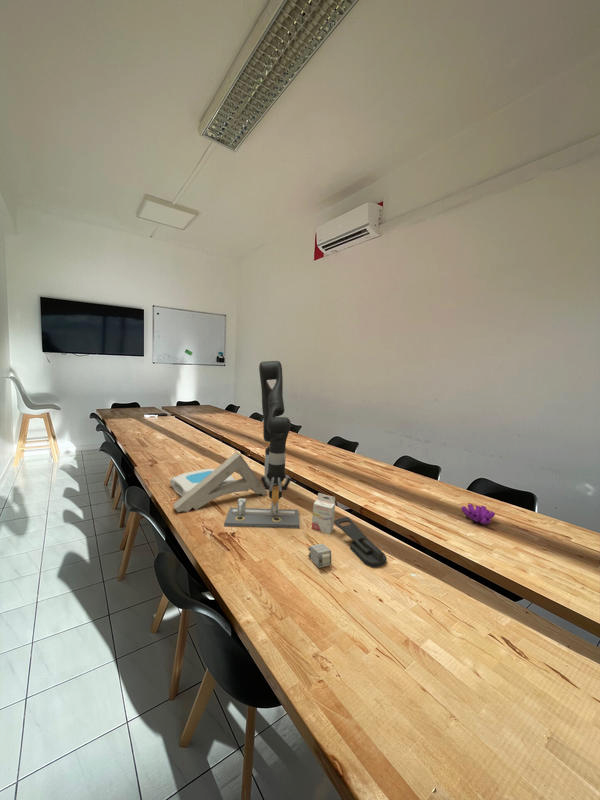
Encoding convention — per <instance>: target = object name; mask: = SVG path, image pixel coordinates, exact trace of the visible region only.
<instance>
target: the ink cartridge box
mask: <svg viewBox="0 0 600 800" xmlns="http://www.w3.org/2000/svg"><path fill="white" fill-rule="evenodd" d="M335 511H336V497H335V496H331V495H328V494H326V493H325V494H324V493H320V492H318V493H317V499H316V500H315V501H314V502H313V507H312V519H311V520H312V521H311V529H312V530H315V531H319V532H322V533H325V534H327V535H328V534H329V535H330V534H331V533H332V532H333V530H334V526H335V525H334V524H335V523H334V521H335V515H336V514H335Z"/></svg>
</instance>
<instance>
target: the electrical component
mask: <svg viewBox="0 0 600 800" xmlns="http://www.w3.org/2000/svg"><path fill="white" fill-rule="evenodd" d="M303 534H305V535H306V536H307V538H308V539H309V540H310V541H311V543H312V545H310V547H307V550H308V551H309V553H308V558H310V561H311V562H312V563H313V565H315V566H316V567H317V568H324V567H327V566H332V550H331V549H330V548H329V547H328V546H326V545H325V544H324V543H318V541H317V540H315V539H314V538H313V537H312V536H310V535H309V534H307V532H305V531H303ZM313 543H314V544H313Z"/></svg>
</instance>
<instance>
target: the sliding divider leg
mask: <svg viewBox="0 0 600 800" xmlns="http://www.w3.org/2000/svg"><path fill="white" fill-rule="evenodd" d="M279 502H280V499H279V486H273V487H272V499H271V504H270V505H271V506H270V509H271V513H273V519H275V514H276V513H278V509H279Z"/></svg>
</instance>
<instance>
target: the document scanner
mask: <svg viewBox="0 0 600 800" xmlns="http://www.w3.org/2000/svg"><path fill="white" fill-rule="evenodd" d="M215 469H216V468H203V469H198V470H192V471H189V472H184V473H181V474H179V475H176V476H174V477H172V478H170V480H169V481H170V482H169V483H170V484H169V485H170V486H171V487H172V488H173V490H174V492H175V493H177V494H178V495H179V496H180V497H182V496H184V495H185V494H186V493H187V492H188V491H190V490H191V489H192V488H193V487H195V486H196V485H197V484H198V483H199V482H201V481H202V480H203V479H204V478H205V477H207V476H208V475H209V474H210V473H211V472H213V471H214V470H215ZM233 481H236V479H235V477H233V474H232V475H230V476H229V477H228V478H227V479H226V480H224V481H223V482H222V483H221V484H220V485H223V484H226V483H230V482H233Z"/></svg>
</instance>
